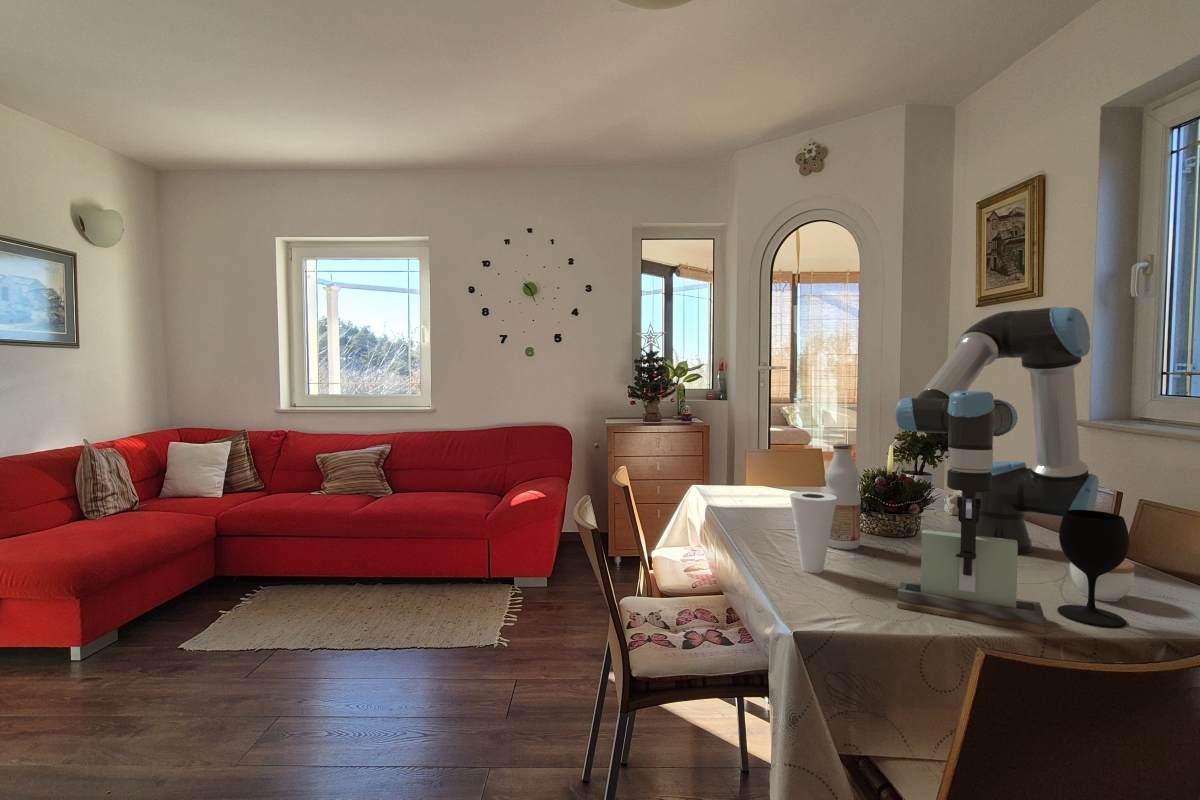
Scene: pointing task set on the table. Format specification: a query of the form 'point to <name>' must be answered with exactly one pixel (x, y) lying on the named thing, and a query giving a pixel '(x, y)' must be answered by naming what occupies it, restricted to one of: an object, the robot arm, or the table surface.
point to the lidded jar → (1106, 582)
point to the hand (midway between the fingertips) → (967, 586)
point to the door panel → (991, 568)
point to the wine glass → (1093, 558)
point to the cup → (813, 527)
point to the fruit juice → (844, 498)
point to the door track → (972, 609)
